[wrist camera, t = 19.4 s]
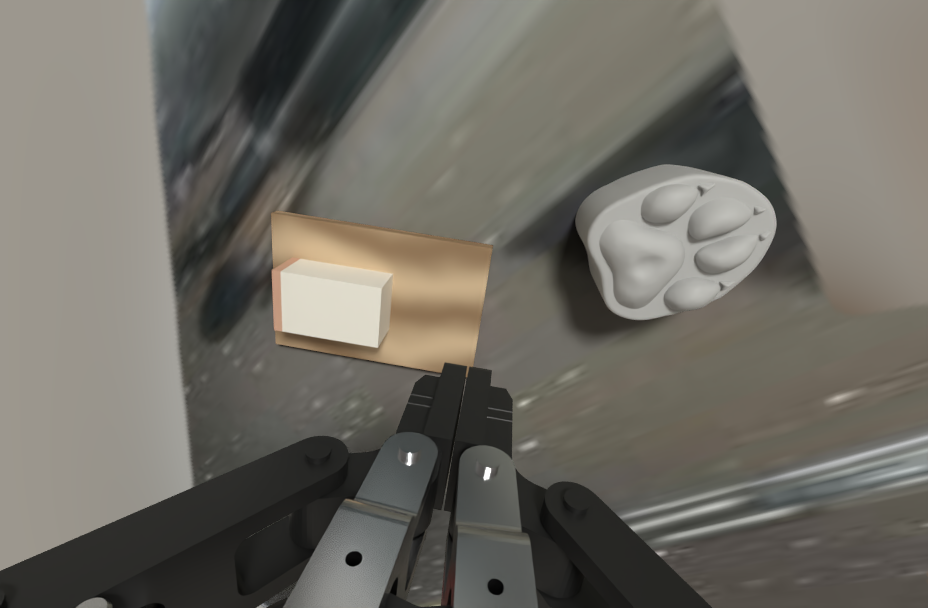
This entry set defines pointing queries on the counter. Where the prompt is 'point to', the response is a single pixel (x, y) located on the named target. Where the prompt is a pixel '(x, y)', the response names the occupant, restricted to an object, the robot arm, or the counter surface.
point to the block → (332, 301)
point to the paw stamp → (672, 239)
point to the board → (397, 287)
